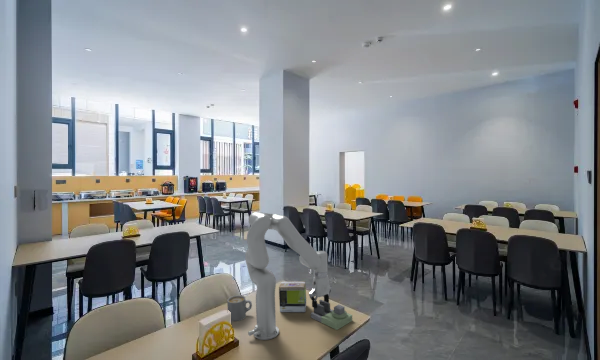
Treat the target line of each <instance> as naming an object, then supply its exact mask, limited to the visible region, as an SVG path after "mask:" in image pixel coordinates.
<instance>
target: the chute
mask: <svg viewBox="0 0 600 360" xmlns="http://www.w3.org/2000/svg"><path fill="white" fill-rule="evenodd" d="M330 309H331V302H329V303H328V302H326V301H324V299H319V303H318V302H317V308H314V307H313V313H316V314H318V315H320V316H324V315H326V314H328V313H330Z"/></svg>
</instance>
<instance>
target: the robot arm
mask: <svg viewBox="0 0 600 360" xmlns="http://www.w3.org/2000/svg"><path fill="white" fill-rule="evenodd" d="M248 225H250V228H249V229H248V231H247V234H246V243H247V250H246V252H245V255H244V258H245V264H246V267H247V272H248V276H249V279H250V281H251V282H252V283H253V284H254V285H255V286H256V293H255V311H256V312H255V313H256V315H255V316H256V325H254V328H253V329H252V330H250V331H248V332H247V334H248V336H249V337H250V336H253V337H255V338H256V339H257V340H261V341H268V340H272V339H274V338H276V337H277V336H278V335H279V334H280V328H279V326H277V323H276V322H277V321H276V319H277V318H276V286H277V279H276V276H275V274H274V273H273V272H272V271H271V269H268V268H267V267H268V266H269V263H270V257H269V253H268V248H267V246H266V245H267V244H266V240H265V236H266V233H267V231H268V230H273V231H276V232H277V233H278V234H279V235H280V237H281V238H282V239H283V241H284V242H285V243H286V245H287V246H288V247H289V248H290V249H291V250H293V251H294V252H295V253H297V254H298V255H299V258H298V260H299V263H300V264H301V265H303V266H304V267H307V268H308V269H310V270H313V274H312V275H313V277H312V278H313V279H312V287H311V290H310V292H309V293H308V296H309V299H310V300H311V307H312V308H313V309H314V308H317V303H318V301H317V299H318V298H321V297H323V301H326V302H328V303H330V293H331V291H332V286H331V285H330V279H329V275H328V253H327V252H326V251H325V250H318V251H317V250H315V248H313V246H312V245H311V244H310V243H309V242H308V240H306V239H305V238H304V237H303V236H302V234H300V232H299V231H298V230H297V228H296V227H295V225H294V224H293V223H292V222H291V219H290V218H288V217H287V216H286V215H282V214H277V213H268V212H259V211H255V212H253V213H251V214H250V215H249V216H248Z"/></svg>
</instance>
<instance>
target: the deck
mask: <svg viewBox="0 0 600 360" xmlns="http://www.w3.org/2000/svg"><path fill="white" fill-rule="evenodd" d="M310 318H311V319H313V320H315V321H317V322H319V323H321V324H322V325H323V324H324V326H325V325H326V326H328V327H330V328H332V329H334V330H335V331H338V330H339V329H341V328H342V327H344V326H346V325H348V324H349V323H351V322H352V321H353V314H351V313H348V312H347V311H346V310H345V306H343V305H341V304H336V305H335V306H333V309H332V308H330V313H328V314H326V315H324V316H320V315H318V314H316V313H314V311H312V312H310Z"/></svg>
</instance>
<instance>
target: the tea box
mask: <svg viewBox="0 0 600 360" xmlns="http://www.w3.org/2000/svg"><path fill="white" fill-rule="evenodd" d="M306 285H307V284H306V280H303V281H300V280H299V281H297V280H296V281H294V280H293V281H292V280H291V281H281V282H280V284H279V287H278V299H279V312H280V313H306V309H307V286H306Z"/></svg>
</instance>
